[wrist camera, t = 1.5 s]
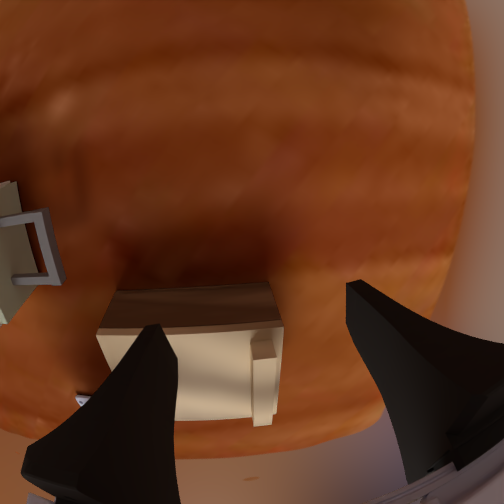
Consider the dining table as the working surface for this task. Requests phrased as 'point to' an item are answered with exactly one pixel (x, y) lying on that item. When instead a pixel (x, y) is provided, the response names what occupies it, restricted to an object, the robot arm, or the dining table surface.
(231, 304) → the walnut box
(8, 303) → the drawer
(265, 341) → the box lid
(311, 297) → the dining table surface
